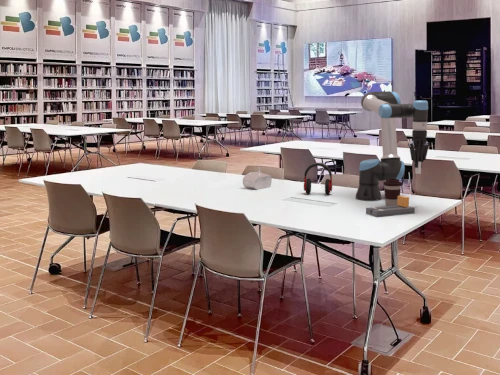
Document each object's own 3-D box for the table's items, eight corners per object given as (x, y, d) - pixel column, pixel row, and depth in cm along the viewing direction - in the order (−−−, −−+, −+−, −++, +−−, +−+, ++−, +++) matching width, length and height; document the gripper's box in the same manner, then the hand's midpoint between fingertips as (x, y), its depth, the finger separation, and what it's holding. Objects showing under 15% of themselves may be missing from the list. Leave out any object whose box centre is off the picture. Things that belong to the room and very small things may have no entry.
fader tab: (397, 208, 328) (397, 195, 327) (401, 208, 329) (402, 195, 328) (403, 210, 323) (404, 197, 322) (408, 210, 324) (409, 197, 323)
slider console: (365, 213, 323) (366, 207, 323) (403, 209, 332) (403, 204, 332) (376, 217, 314) (376, 211, 314) (414, 213, 323) (414, 207, 323)
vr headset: (260, 185, 417) (260, 164, 415) (273, 187, 409) (273, 166, 407) (242, 188, 404) (242, 167, 401) (254, 190, 396) (254, 168, 394)
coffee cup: (392, 208, 337) (393, 181, 334) (379, 205, 345) (380, 179, 342) (404, 205, 343) (405, 179, 340) (391, 203, 350) (391, 177, 348)
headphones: (332, 193, 384) (332, 162, 380) (331, 196, 374) (331, 164, 371) (304, 192, 387) (305, 161, 384) (303, 195, 378) (303, 163, 374)
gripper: (413, 130, 316) (412, 175, 320) (434, 129, 321) (432, 173, 325) (405, 129, 323) (403, 173, 327) (425, 128, 328) (423, 172, 332)
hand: (418, 173), depth 326 cm, fingers closed
